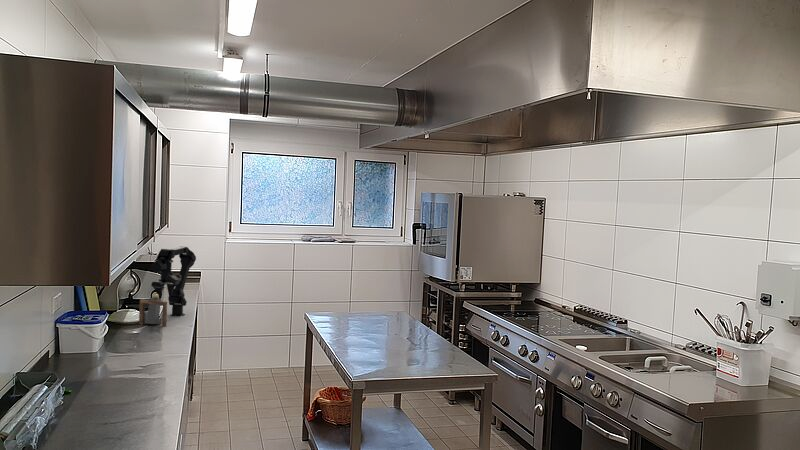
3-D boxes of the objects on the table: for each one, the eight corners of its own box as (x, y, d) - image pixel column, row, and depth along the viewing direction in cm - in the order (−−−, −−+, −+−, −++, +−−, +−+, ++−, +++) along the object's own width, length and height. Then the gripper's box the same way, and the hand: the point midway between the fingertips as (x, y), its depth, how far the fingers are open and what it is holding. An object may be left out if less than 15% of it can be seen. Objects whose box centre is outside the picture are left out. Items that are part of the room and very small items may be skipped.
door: (144, 322, 337) (144, 312, 337) (142, 322, 338) (142, 312, 337) (157, 318, 349) (158, 308, 349) (156, 318, 349) (156, 308, 349)
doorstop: (150, 322, 339) (153, 293, 341) (160, 323, 338) (163, 293, 340) (144, 323, 333) (148, 292, 335) (154, 324, 333) (158, 293, 334)
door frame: (141, 323, 337) (142, 299, 336) (166, 326, 333) (167, 301, 333) (139, 324, 335) (139, 299, 334) (164, 326, 331) (165, 302, 331)
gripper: (168, 273, 337) (167, 301, 338) (187, 269, 355) (186, 296, 356) (151, 271, 340) (150, 299, 340) (171, 268, 358) (170, 294, 359)
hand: (165, 297), depth 349 cm, fingers open, 9 cm apart
